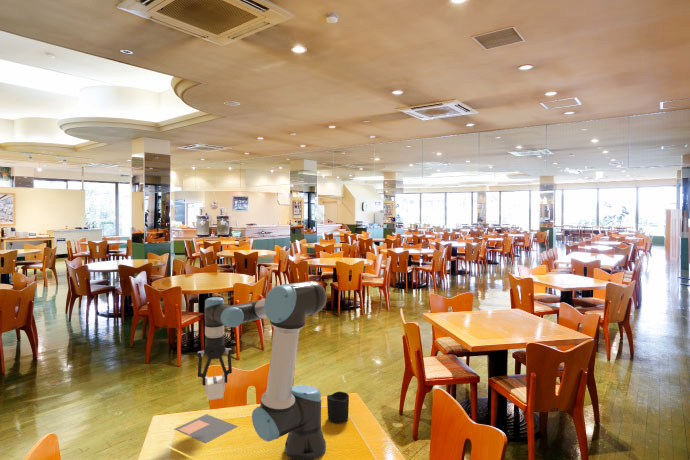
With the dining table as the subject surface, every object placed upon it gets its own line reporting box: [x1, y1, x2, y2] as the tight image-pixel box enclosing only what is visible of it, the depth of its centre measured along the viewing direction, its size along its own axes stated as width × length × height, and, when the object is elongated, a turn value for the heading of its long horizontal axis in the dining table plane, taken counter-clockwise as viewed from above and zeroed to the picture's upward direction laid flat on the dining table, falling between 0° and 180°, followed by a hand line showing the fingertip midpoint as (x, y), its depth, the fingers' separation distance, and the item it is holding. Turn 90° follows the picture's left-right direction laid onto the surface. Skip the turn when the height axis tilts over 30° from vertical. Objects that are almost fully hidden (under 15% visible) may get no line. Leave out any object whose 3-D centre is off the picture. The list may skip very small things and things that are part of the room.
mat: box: [174, 413, 239, 444], centre depth 172 cm, size 20×16×1 cm
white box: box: [206, 375, 224, 401], centre depth 172 cm, size 9×6×6 cm, turn 20°
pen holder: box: [326, 391, 350, 424], centre depth 180 cm, size 9×9×10 cm
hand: (215, 391), depth 172 cm, fingers closed on white box, 6 cm apart
